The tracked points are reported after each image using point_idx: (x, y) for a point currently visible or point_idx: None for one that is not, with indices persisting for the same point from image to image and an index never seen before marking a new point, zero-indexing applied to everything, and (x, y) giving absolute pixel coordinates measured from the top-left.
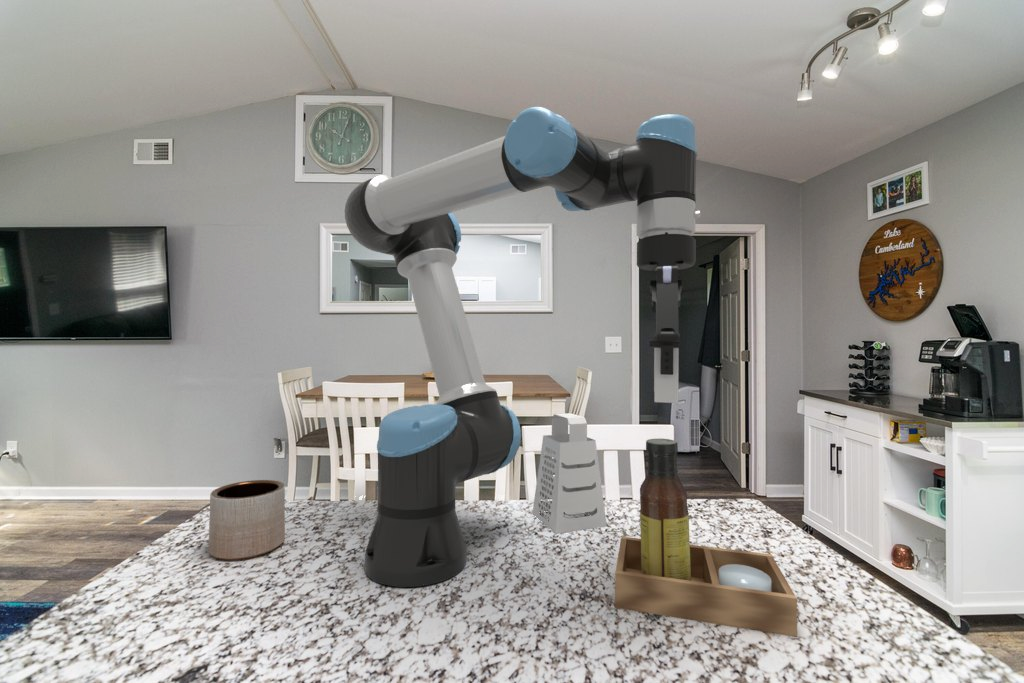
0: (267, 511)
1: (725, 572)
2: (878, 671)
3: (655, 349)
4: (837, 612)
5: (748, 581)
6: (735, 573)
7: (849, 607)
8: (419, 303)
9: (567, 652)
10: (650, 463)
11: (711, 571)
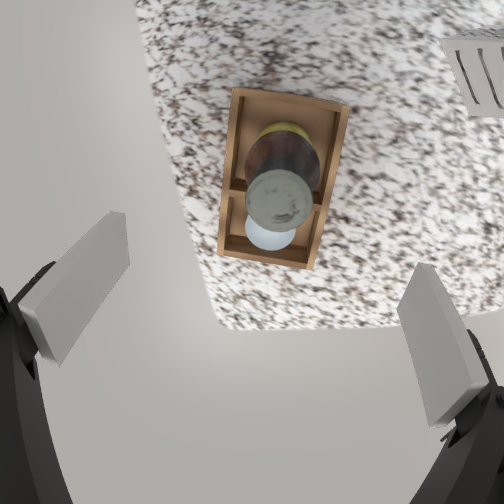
0: None
1: None
2: (204, 271)
3: (21, 301)
4: (279, 284)
5: (256, 227)
6: None
7: (288, 296)
8: None
9: (170, 49)
10: (268, 163)
11: None
